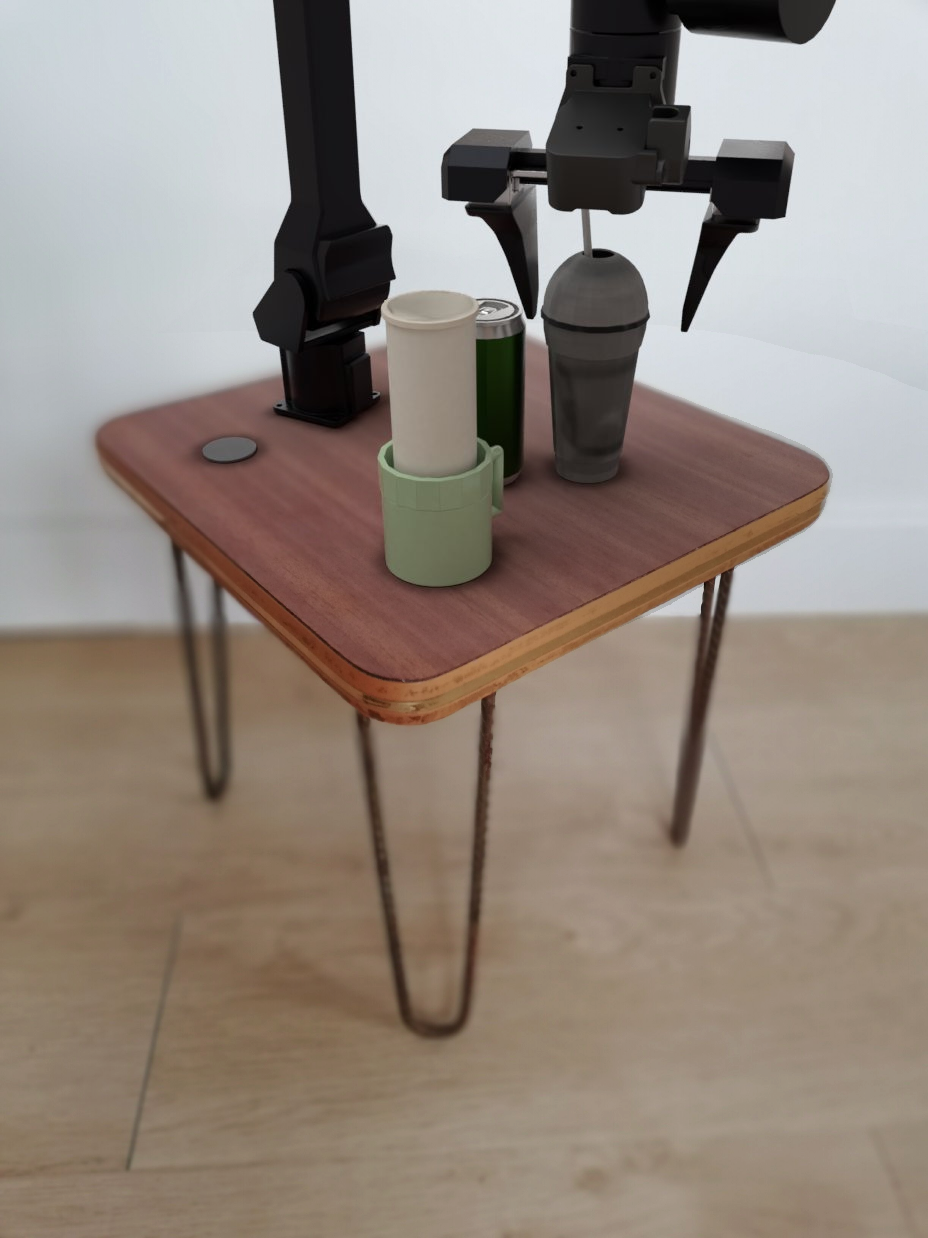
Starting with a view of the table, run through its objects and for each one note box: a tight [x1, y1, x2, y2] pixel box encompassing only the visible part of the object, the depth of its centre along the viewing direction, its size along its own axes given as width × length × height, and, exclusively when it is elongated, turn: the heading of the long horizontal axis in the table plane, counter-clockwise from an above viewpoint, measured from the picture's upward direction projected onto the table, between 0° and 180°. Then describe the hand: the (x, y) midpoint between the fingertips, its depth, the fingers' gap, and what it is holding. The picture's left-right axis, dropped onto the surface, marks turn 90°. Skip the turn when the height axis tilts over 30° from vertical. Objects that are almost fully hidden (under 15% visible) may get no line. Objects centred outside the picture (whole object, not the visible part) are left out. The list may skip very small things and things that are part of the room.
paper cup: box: [381, 289, 479, 478], centre depth 63 cm, size 5×5×11 cm
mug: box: [377, 437, 504, 588], centre depth 67 cm, size 9×7×7 cm
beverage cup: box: [540, 209, 651, 484], centre depth 73 cm, size 7×7×20 cm
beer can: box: [473, 296, 527, 487], centre depth 75 cm, size 5×5×12 cm
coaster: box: [202, 436, 257, 464], centre depth 82 cm, size 4×4×1 cm
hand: (606, 323), depth 65 cm, fingers open, 9 cm apart
